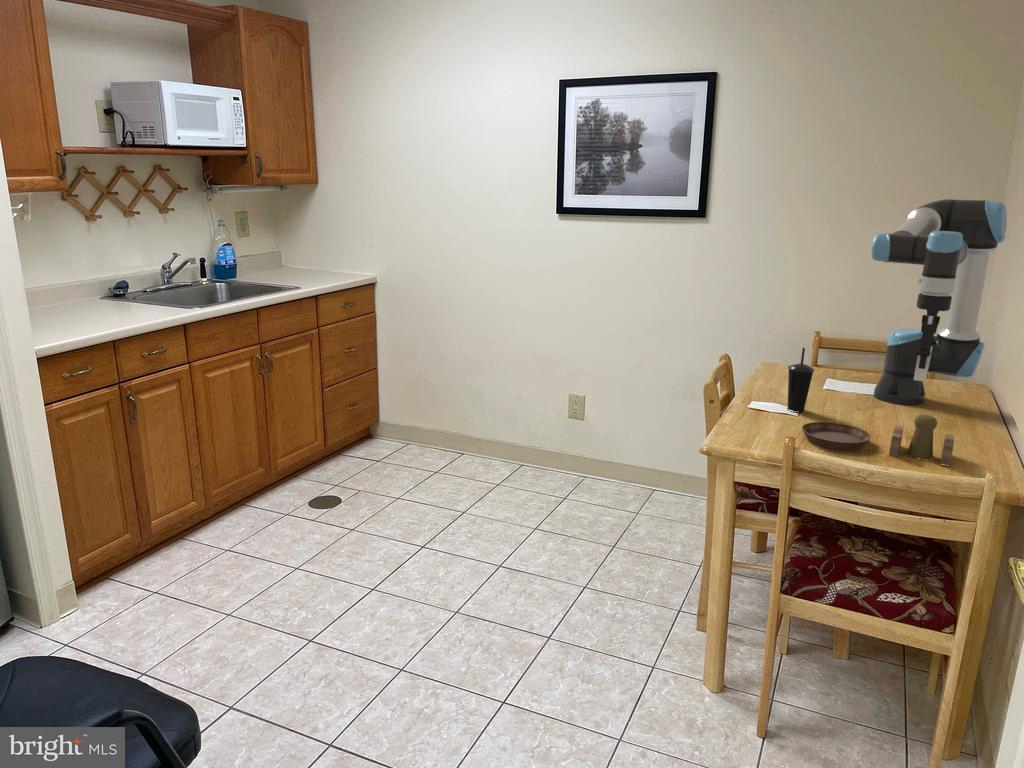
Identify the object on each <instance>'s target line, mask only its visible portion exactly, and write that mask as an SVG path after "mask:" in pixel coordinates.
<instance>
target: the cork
mask: <svg viewBox="0 0 1024 768" xmlns="http://www.w3.org/2000/svg"><path fill="white" fill-rule="evenodd" d="M914 426H915V429H914V432H913V435H912V437H911V441H910V444H909V446H908V449H907V452H906V454H907V455H908V456H909V457H911V456H912V457H911V458H914V457H915V458H914V459H917V458H920V459H919V460H924V459H928V460H931V459H930V458H932V457H934V456H933V455H934V430H935V429H936V427H937V426H938V420H937V418H935V417H934V416H933V415H929V414H920V415H917V416H916V417H915V418H914ZM932 459H933V458H932Z"/></svg>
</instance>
